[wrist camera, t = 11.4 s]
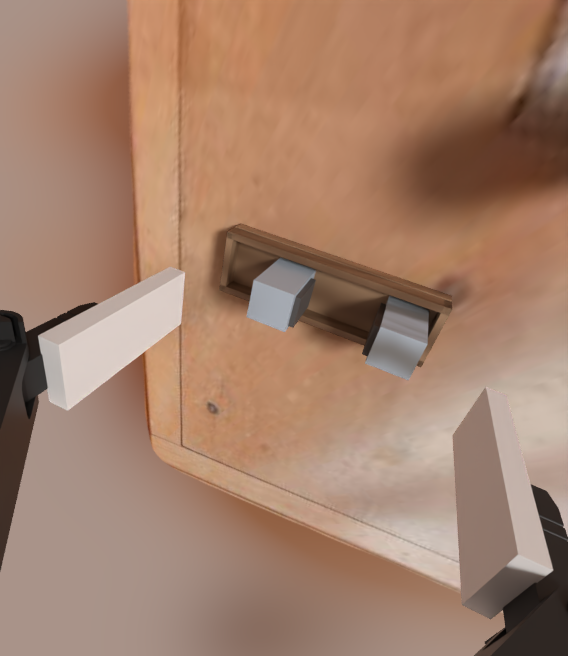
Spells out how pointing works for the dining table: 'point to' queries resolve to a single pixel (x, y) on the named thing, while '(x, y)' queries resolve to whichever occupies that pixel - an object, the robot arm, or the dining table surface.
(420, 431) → the dining table surface
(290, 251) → the rail
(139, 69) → the dining table surface
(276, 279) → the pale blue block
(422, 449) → the dining table surface
